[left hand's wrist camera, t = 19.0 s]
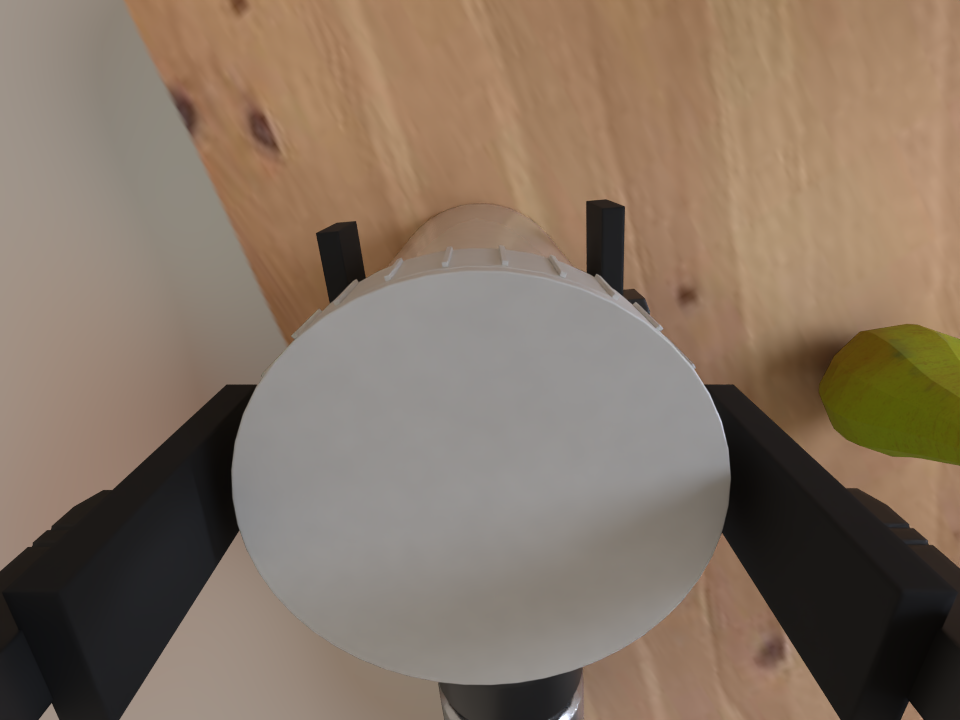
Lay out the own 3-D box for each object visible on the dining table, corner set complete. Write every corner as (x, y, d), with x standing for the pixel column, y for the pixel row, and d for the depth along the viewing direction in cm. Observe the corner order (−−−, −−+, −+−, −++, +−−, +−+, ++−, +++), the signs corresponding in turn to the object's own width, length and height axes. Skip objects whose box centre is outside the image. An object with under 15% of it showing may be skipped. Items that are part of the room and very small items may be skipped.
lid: (524, 661, 15) (531, 741, 13) (200, 498, 13) (147, 563, 11) (783, 409, 12) (846, 462, 10) (414, 139, 10) (396, 136, 8)
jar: (566, 196, 24) (709, 272, 9) (568, 368, 28) (676, 632, 13) (381, 210, 25) (222, 307, 9) (404, 379, 28) (315, 652, 13)
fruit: (819, 437, 29) (1030, 614, 18) (777, 351, 27) (983, 491, 16) (935, 379, 28) (1240, 531, 17) (899, 284, 26) (1217, 386, 15)
